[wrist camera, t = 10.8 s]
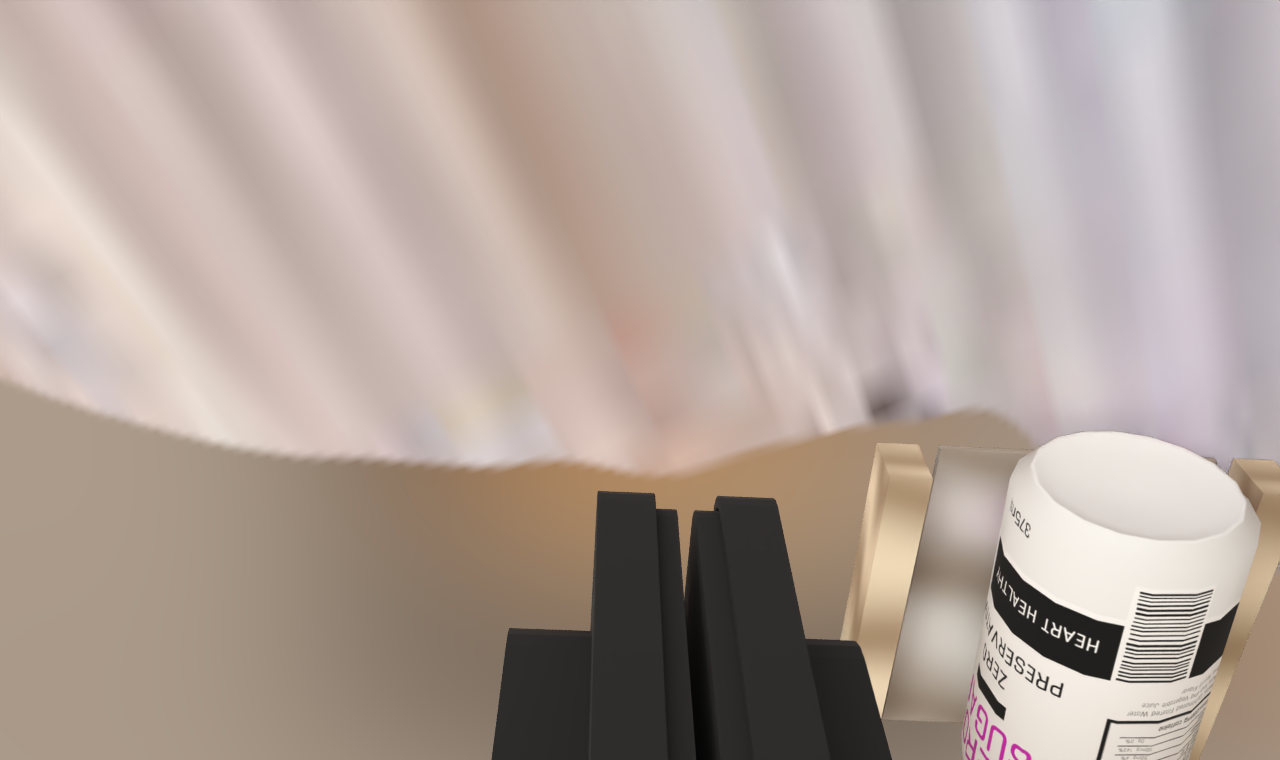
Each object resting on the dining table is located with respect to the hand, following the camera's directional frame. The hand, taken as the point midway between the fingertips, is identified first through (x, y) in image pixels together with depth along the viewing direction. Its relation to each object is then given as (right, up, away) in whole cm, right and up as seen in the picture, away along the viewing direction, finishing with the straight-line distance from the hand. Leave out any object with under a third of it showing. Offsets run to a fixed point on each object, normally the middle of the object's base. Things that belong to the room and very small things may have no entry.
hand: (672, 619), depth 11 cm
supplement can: (+17, -1, +29) cm, 34 cm away
